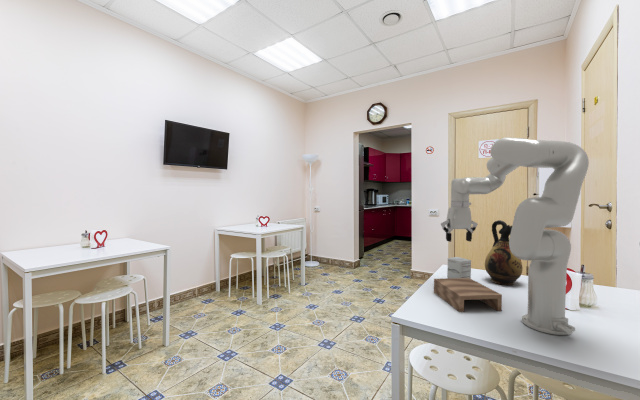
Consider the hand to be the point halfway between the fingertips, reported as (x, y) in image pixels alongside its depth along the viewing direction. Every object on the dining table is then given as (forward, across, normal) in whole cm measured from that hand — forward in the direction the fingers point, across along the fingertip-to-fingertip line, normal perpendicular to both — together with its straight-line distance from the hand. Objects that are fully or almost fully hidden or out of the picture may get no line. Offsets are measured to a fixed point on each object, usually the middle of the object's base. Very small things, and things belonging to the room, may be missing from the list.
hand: (458, 241), depth 130 cm
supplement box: (+21, 0, +1) cm, 21 cm away
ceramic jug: (+21, -24, -3) cm, 32 cm away
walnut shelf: (+21, +8, +19) cm, 29 cm away
